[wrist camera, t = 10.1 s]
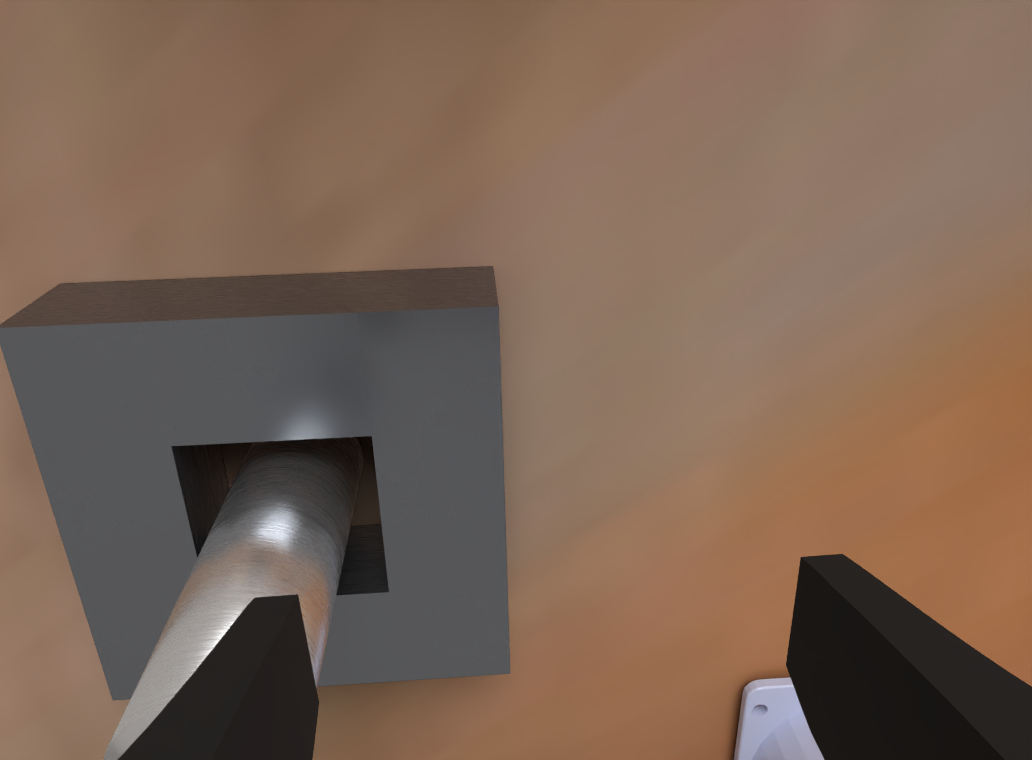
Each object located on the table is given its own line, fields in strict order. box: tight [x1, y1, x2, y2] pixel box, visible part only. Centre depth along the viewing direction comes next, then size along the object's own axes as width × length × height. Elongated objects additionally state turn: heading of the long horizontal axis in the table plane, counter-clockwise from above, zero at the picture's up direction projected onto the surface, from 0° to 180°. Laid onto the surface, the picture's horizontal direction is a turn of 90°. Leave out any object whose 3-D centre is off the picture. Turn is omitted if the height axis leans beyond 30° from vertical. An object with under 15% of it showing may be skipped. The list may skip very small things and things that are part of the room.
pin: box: [104, 437, 363, 760], centre depth 17 cm, size 3×3×10 cm
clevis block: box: [0, 266, 510, 700], centre depth 20 cm, size 10×10×3 cm
